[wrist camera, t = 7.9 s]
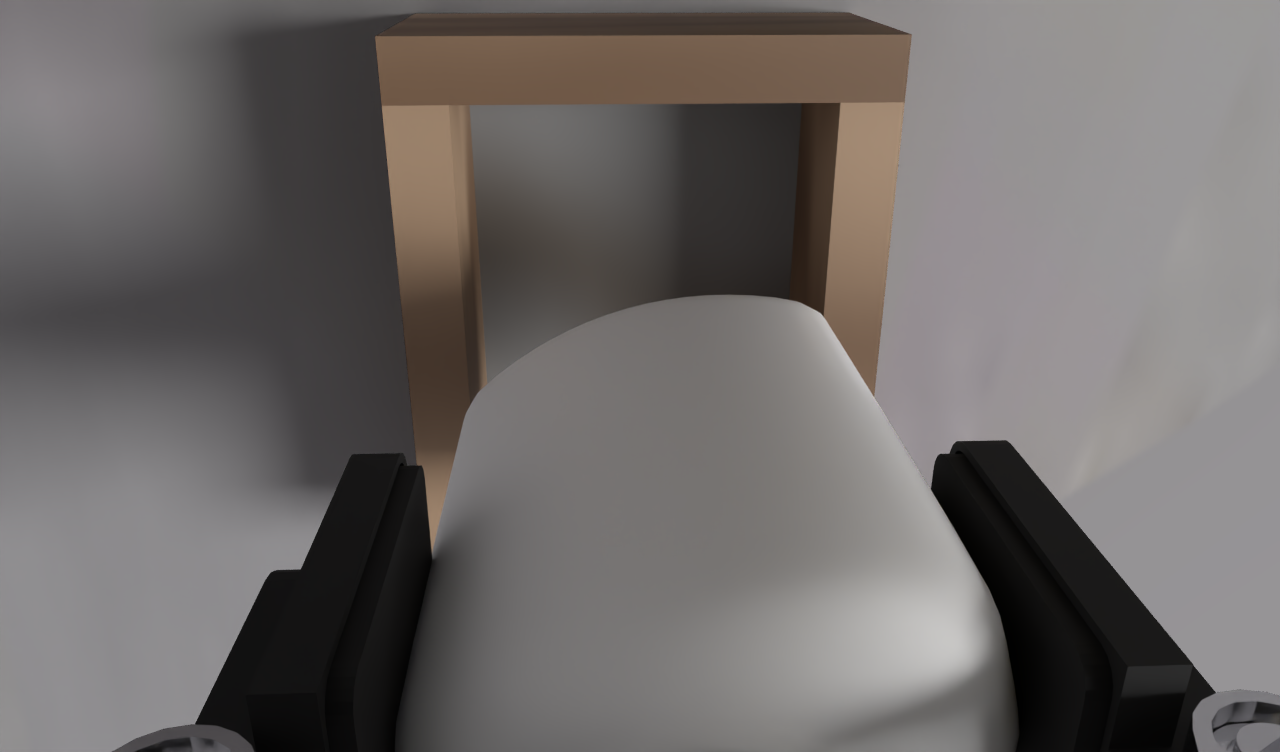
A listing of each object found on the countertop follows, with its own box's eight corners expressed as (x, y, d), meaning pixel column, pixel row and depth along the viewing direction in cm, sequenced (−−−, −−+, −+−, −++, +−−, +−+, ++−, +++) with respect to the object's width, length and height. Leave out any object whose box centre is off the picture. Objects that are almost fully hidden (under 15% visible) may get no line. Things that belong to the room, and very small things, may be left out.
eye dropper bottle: (789, 552, 17) (1166, 1681, 6) (451, 493, 16) (179, 1663, 5) (872, 309, 15) (1593, 1252, 4) (500, 229, 15) (253, 1138, 4)
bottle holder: (415, 13, 19) (375, 36, 15) (848, 12, 19) (911, 34, 16) (454, 490, 23) (429, 598, 19) (811, 481, 23) (854, 586, 20)
